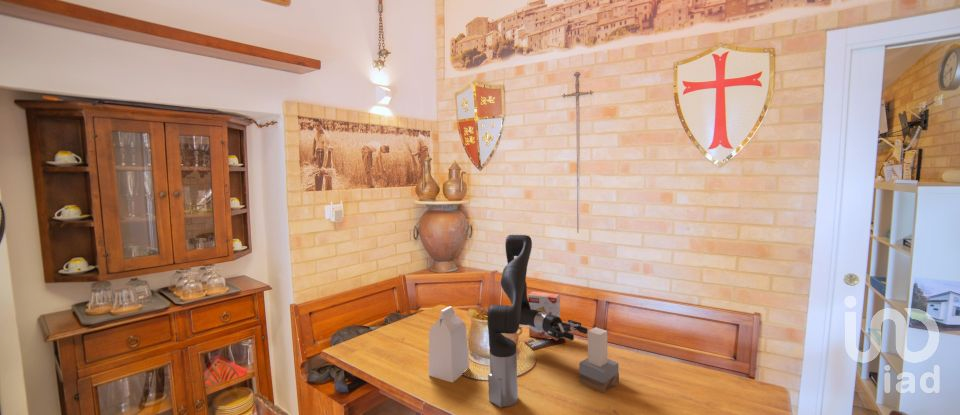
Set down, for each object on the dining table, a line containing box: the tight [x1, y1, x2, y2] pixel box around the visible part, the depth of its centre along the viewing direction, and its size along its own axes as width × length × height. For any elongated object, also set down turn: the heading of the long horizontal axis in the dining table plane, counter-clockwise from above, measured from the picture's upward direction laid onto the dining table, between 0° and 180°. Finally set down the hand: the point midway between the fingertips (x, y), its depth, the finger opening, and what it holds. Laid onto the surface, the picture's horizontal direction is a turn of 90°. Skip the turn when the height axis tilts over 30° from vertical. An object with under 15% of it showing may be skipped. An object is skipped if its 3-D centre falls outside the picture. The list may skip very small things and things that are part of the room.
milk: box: [428, 305, 470, 384], centre depth 155 cm, size 12×12×26 cm
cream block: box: [587, 326, 608, 367], centre depth 144 cm, size 5×5×12 cm
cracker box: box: [527, 291, 561, 342], centre depth 186 cm, size 14×6×21 cm, turn 62°
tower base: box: [579, 372, 620, 393], centre depth 144 cm, size 10×10×4 cm
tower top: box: [578, 357, 619, 383], centre depth 144 cm, size 10×10×4 cm
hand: (580, 334), depth 149 cm, fingers open, 8 cm apart
